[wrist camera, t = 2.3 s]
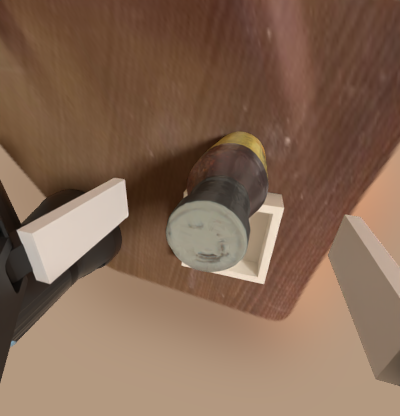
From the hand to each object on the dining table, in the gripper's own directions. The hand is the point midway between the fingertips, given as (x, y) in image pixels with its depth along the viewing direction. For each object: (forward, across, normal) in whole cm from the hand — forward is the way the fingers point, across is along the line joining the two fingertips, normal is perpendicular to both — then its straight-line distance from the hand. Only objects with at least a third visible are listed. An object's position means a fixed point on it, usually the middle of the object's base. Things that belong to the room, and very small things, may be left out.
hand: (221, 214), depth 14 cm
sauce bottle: (+16, 0, 0) cm, 17 cm away
